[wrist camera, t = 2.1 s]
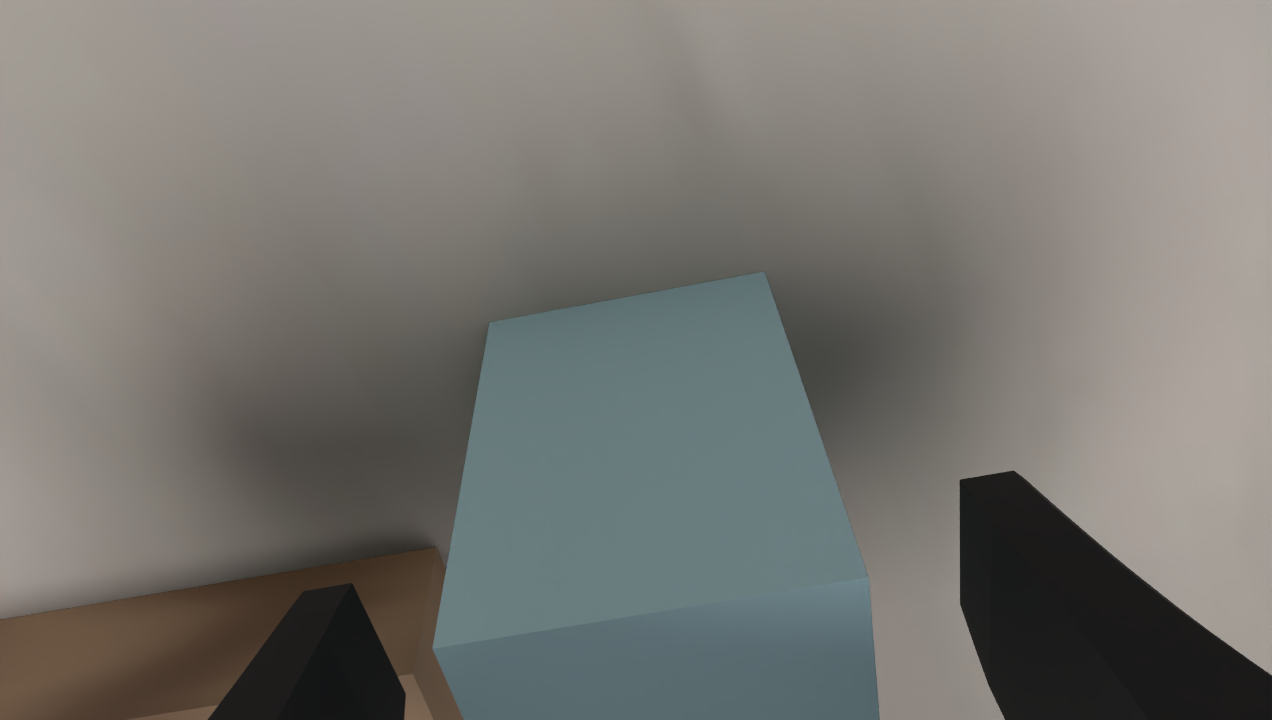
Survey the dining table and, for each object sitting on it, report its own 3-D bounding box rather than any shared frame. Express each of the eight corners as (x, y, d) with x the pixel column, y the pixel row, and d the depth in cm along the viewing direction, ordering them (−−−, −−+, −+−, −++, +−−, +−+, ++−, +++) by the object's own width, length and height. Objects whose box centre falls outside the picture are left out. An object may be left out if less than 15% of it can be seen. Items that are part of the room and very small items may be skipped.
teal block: (763, 271, 14) (867, 577, 9) (791, 485, 16) (888, 832, 11) (489, 321, 14) (431, 648, 9) (552, 526, 16) (536, 883, 11)
